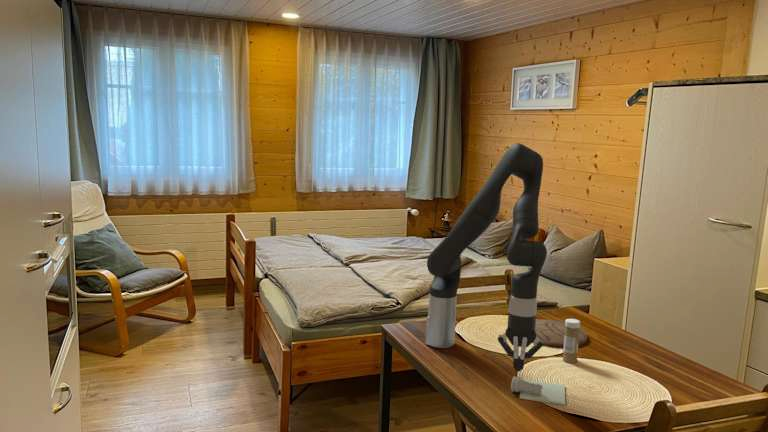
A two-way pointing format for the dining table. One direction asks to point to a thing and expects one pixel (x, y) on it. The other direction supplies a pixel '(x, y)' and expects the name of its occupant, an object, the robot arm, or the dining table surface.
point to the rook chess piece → (525, 386)
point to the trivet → (555, 333)
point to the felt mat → (546, 393)
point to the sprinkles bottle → (571, 340)
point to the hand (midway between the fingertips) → (518, 370)
